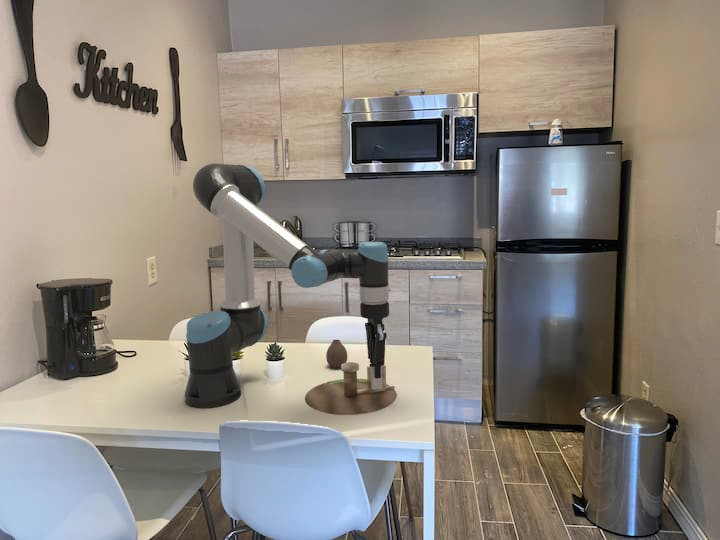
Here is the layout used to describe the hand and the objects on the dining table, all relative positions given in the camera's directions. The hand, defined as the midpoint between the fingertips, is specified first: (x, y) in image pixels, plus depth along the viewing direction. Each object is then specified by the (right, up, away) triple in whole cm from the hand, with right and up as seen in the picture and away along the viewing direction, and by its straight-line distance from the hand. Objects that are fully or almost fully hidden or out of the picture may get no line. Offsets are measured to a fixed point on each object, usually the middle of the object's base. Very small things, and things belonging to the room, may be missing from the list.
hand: (376, 388), depth 134 cm
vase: (-12, 0, +30) cm, 33 cm away
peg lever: (-2, -2, +4) cm, 5 cm away
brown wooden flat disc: (-7, -4, +3) cm, 8 cm away
